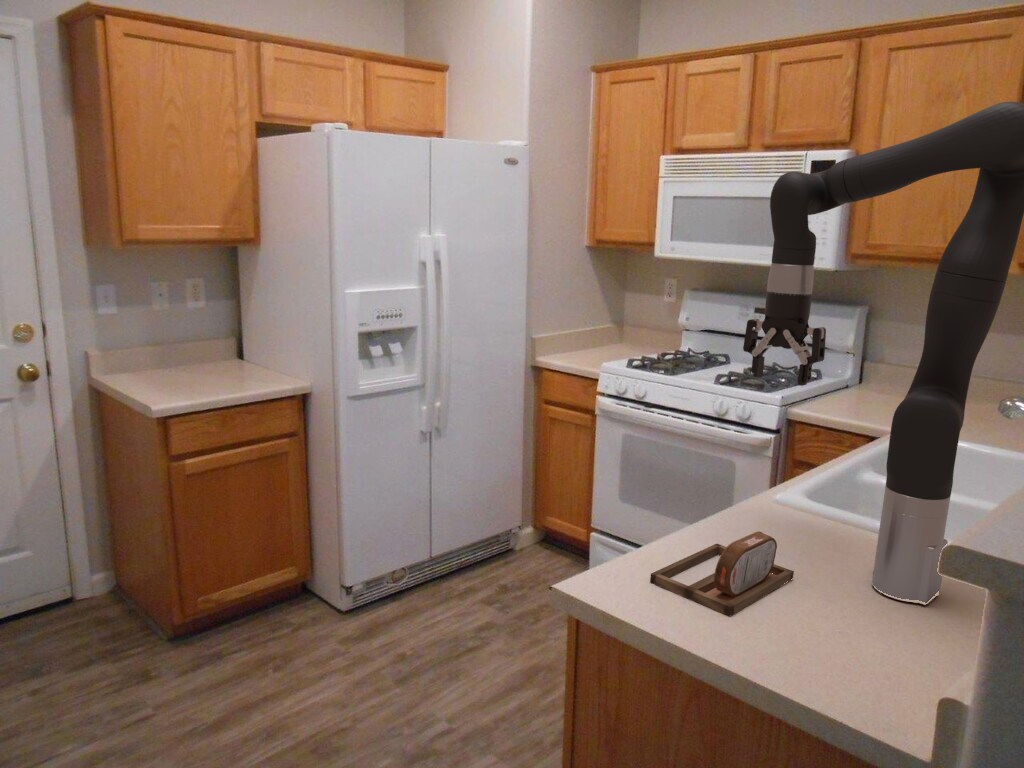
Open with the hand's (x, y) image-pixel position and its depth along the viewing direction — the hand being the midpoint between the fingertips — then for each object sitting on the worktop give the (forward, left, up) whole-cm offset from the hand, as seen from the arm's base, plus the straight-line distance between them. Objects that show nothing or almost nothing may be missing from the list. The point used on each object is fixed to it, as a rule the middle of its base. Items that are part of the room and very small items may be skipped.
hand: (779, 380), depth 141 cm
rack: (-5, +22, -30) cm, 38 cm away
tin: (-9, +22, -30) cm, 38 cm away
